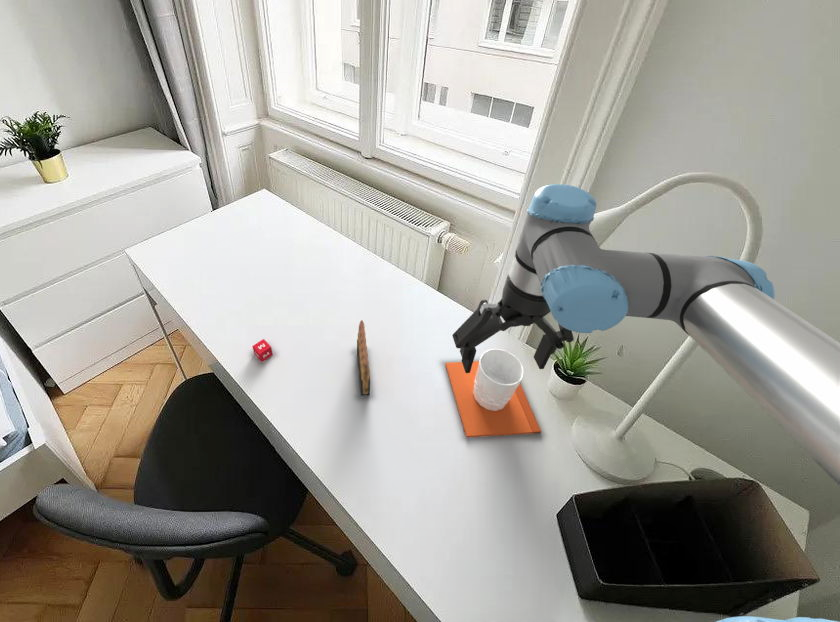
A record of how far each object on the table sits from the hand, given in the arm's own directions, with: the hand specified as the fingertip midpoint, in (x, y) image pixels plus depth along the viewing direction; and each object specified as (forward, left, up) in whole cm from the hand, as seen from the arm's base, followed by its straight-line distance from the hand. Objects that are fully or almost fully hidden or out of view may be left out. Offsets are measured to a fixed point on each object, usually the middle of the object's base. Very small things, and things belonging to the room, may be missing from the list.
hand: (502, 364), depth 75 cm
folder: (0, 0, -11) cm, 11 cm away
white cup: (0, 0, -11) cm, 11 cm away
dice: (+13, +47, -11) cm, 50 cm away
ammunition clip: (+7, +25, -11) cm, 28 cm away
